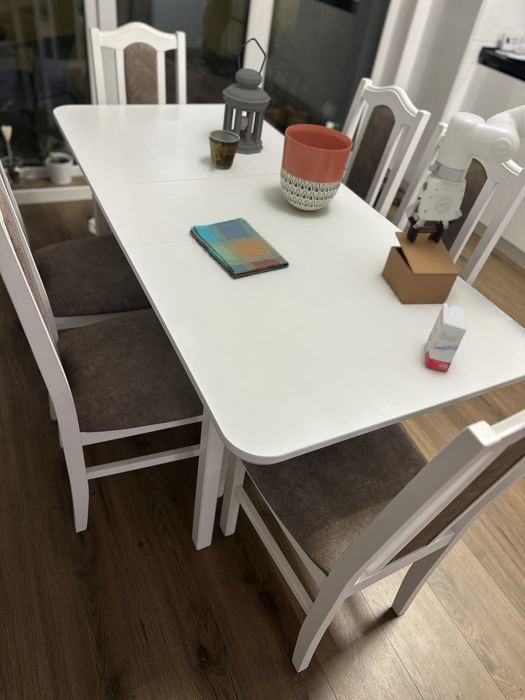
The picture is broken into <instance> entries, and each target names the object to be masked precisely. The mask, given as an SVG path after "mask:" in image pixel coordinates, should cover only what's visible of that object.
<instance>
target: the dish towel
mask: <svg viewBox="0 0 525 700" xmlns="http://www.w3.org/2000/svg"><path fill="white" fill-rule="evenodd" d="M189 233H190V234H191V236H193V238H195V239H196V240H197V241H198V242H199V243H200V244H201V245H202V247H204V248H205V249H206V250H207V251H208V252H209V254H211V255H212V256H213V258H214V259H216V260H217V261H218V262H219V264H220V265H221V266H222V267H223V268H224V269H225V270H226V271H227V272H228V273H229V274H230V275H231V277H232V278H240V277H244V276H245V277H246V276H249V275H254V274H258V273H263V272H268V271H269V272H270V271H273V270H274V271H275V270H278V269H283V268H288V267H290V263H289V261H288V260H286V258H284V256H283V255H282V254H280V252H279V251H278V250H277V249H276V248H274V247H273V245H271V244H270V243H269V242H268V241H267V240H266V239H265V238H264V237H263V236H262V235H261V234H260V233H259V232H258V231H257V230H256V229H255V228H254V227H253V226H252V225H251V224H250V223H249V222H248V221H247V220H246V219H245V218H242V217H237V218H234V219H229V220H226V221H220V222H215V223H212V224H205V225H193V226H191V227H190V230H189Z"/></svg>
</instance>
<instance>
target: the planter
mask: <svg viewBox="0 0 525 700" xmlns="http://www.w3.org/2000/svg"><path fill="white" fill-rule="evenodd" d="M353 145H354V143H353V140H352V139H351V137H349V136H348V135H347V134H344V133H343V132H341V131H339V130H336V129H333V128H330V127H327V126H323V125H318V124H307V123H299V124H292V125H290V126H288V127H287V128H286V129H285V132H284V139H283V148H282V155H281V163H280V173H279V174H280V175H279V176H280V177H279V179H280V188H281V192H282V194H283V196H284V198H285V199H286V200H287V202H288V203H289V204H290V205H292V206H293V207H294V208H296V209H298V210H301V211H308V212H311V211H312V212H313V211H317V210H319V209H322V208H324V207H326V206H327V205H329V204H330V203H331V202H332V201H333V199H334V198H335V197H336V195H337V193H338V191H339V189H340V186H341V183H342V180H343V178H344V174H345V171H346V168H347V164H348V162H349V158H350V156H351V152H352V148H353Z"/></svg>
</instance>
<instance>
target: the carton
mask: <svg viewBox="0 0 525 700" xmlns="http://www.w3.org/2000/svg"><path fill="white" fill-rule="evenodd" d="M381 276H382V277H383V279H384V280H385V281H386V283H387V284H388V286H389V287H390V289H391V290H392V291H393V293H394V294H395V296H396V297H397V299H398V300H399V302H400V303H401V304H402V305H429V304H430V305H433V304H443V303H446V302H447V300H448V298H449V296H450V294H451V291H452V290H453V287H454V285H455V282H456V280H457V279H458V276H459V274H456V275H414V274H413V272H412V270H411V267H410V265H409V263H408V261H407V259H406V257H405V254H404V252H403V250H402V248H401V246H399V245H392V246H390V249H389V252H388V255H387V258H386V261H385V263H384V267H383V270H382V273H381Z"/></svg>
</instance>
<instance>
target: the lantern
mask: <svg viewBox="0 0 525 700" xmlns="http://www.w3.org/2000/svg"><path fill="white" fill-rule="evenodd" d="M251 41H254V42H255V44H256V45H257V47H258V48H259V49H260V51H261V52H262V55H263V61H262V63H261V67H260V69H259V71H257V70H255V69H253V68H242V67H241V58H240V51H241V49H242V48H243V47H244V46H246V45H248V43H250V42H251ZM236 53H237V66H238V70H237V72H235V77H234V78H235V81H236V83H232V84H230V85H229V86H227V87H226V88H224V89H223V90H222V91H221V93H222V94H223V96H222V98H223V100H224V101H225V102H224V113H223V121H222V130H225V131H230V132H233V133H235V134H237V135H238V136H239V137H240V141H239V144H238V148H237V150H236V153H235V154H239V155H240V154H241V155H253V154H259V153H260V154H261V151H262V150H263V149H264V146H263V140H262V132H263V128H264V127H263V126H264V121H265V112H266V108H267V107H268V106H269V105H270V102H271V99H272V97H270V96H269V94H268V93H267V92H266V91H265V90H264V89H263V88H262V87H261V86H260V85H261V84H262V82H263V76H262V74H261V73H262V72H263V69H264V65H265V62H266V61H267V53H266V52H265V50H264V49H263V47H262V46H261V44H260V43H259V41H258V39H257V38H256V37H250V39H248V40H247V41H246V42H245V43H243V44H242V45H240V46H239V47H238V48H237V51H236ZM234 111H235V114H234ZM243 112H245V113H246V114H245V115H243ZM233 120H234V123H233Z"/></svg>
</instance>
